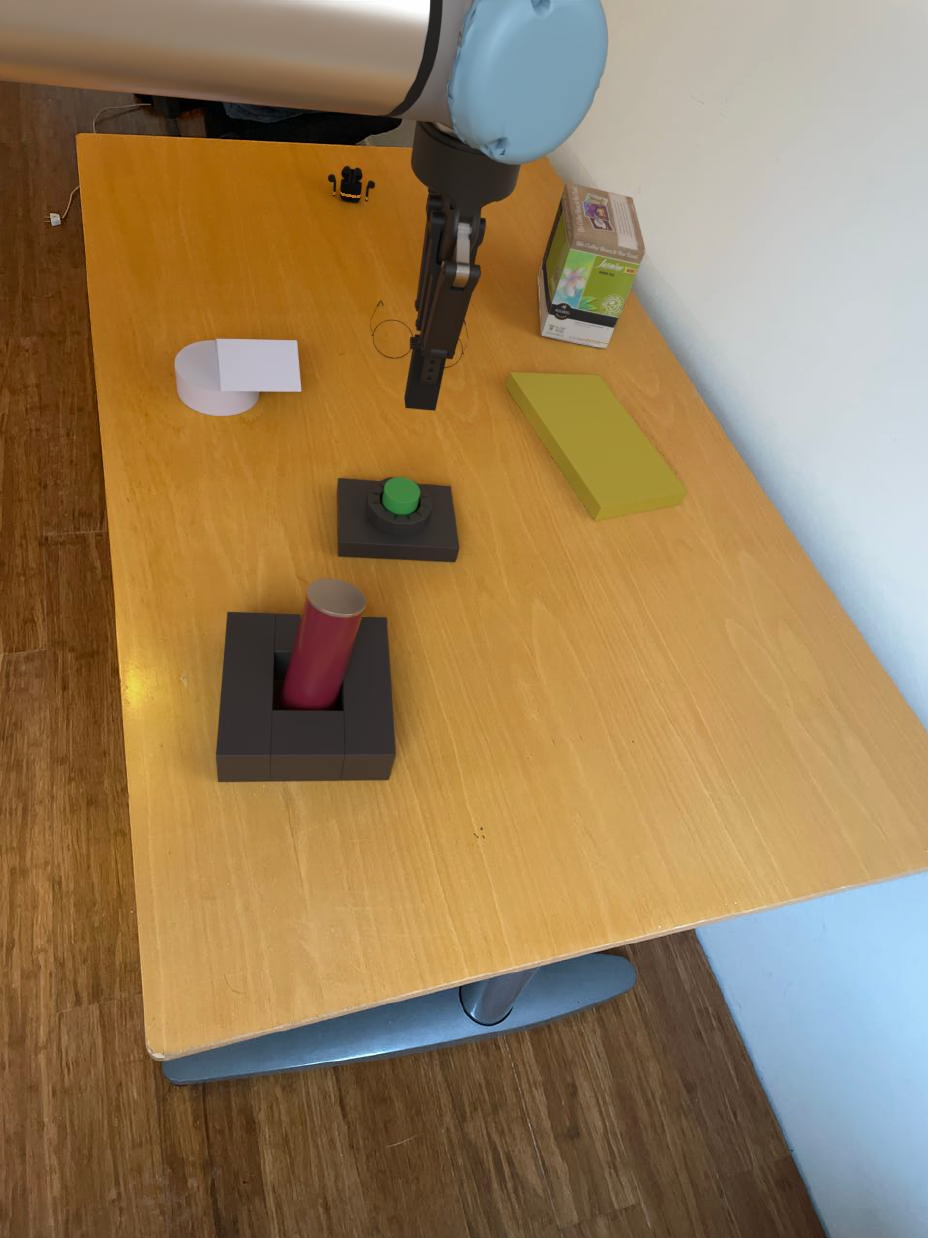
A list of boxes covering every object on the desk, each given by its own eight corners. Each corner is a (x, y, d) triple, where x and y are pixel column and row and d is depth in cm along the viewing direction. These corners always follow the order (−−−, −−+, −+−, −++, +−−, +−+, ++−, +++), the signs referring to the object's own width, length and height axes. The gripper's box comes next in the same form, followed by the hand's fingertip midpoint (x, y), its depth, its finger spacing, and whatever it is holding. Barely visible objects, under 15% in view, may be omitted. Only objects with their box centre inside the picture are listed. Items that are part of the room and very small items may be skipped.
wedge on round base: (289, 365, 97) (174, 364, 93) (291, 316, 92) (170, 312, 88) (299, 415, 92) (179, 416, 88) (302, 365, 87) (174, 364, 83)
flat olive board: (680, 504, 96) (585, 377, 108) (687, 491, 95) (590, 363, 107) (594, 521, 92) (505, 386, 104) (600, 507, 90) (509, 371, 102)
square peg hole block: (217, 782, 64) (215, 755, 61) (228, 642, 72) (227, 611, 69) (388, 780, 67) (396, 755, 64) (381, 646, 76) (387, 616, 72)
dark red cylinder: (280, 729, 66) (311, 611, 60) (275, 690, 70) (303, 575, 63) (335, 731, 68) (371, 617, 62) (328, 693, 72) (361, 581, 65)
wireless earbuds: (326, 200, 123) (328, 165, 119) (326, 191, 124) (329, 157, 121) (372, 207, 124) (376, 173, 121) (372, 199, 126) (376, 165, 122)
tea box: (608, 351, 113) (648, 249, 102) (538, 337, 112) (571, 233, 100) (599, 292, 123) (634, 193, 111) (534, 279, 121) (563, 178, 110)
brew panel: (337, 556, 81) (341, 529, 78) (336, 492, 86) (339, 464, 83) (455, 562, 84) (463, 536, 81) (447, 500, 89) (454, 473, 86)
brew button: (383, 514, 81) (385, 501, 79) (381, 488, 83) (383, 475, 81) (418, 516, 81) (421, 503, 80) (416, 490, 84) (418, 478, 82)
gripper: (543, 174, 51) (468, 457, 70) (513, 88, 59) (453, 363, 77) (426, 156, 50) (381, 450, 68) (411, 69, 57) (374, 355, 76)
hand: (419, 403), depth 73 cm, fingers closed
